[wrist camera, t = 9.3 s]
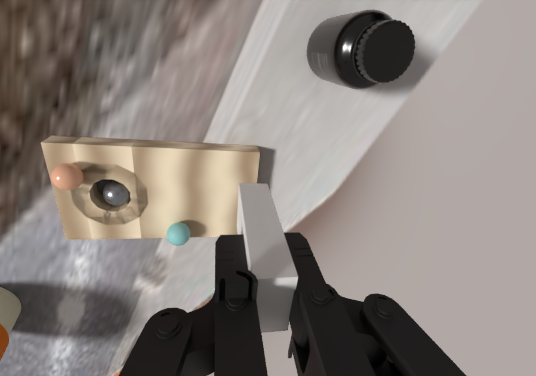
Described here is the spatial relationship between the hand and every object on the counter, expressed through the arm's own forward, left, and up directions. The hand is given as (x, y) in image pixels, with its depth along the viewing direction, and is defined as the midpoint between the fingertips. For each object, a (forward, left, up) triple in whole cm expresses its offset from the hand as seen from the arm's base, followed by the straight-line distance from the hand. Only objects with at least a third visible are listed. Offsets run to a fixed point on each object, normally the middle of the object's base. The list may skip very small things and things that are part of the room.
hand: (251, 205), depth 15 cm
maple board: (+8, +11, -23) cm, 26 cm away
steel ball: (+13, +11, -21) cm, 27 cm away
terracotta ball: (+17, +8, -19) cm, 26 cm away
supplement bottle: (-12, -8, -23) cm, 27 cm away
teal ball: (+6, +16, -19) cm, 25 cm away
